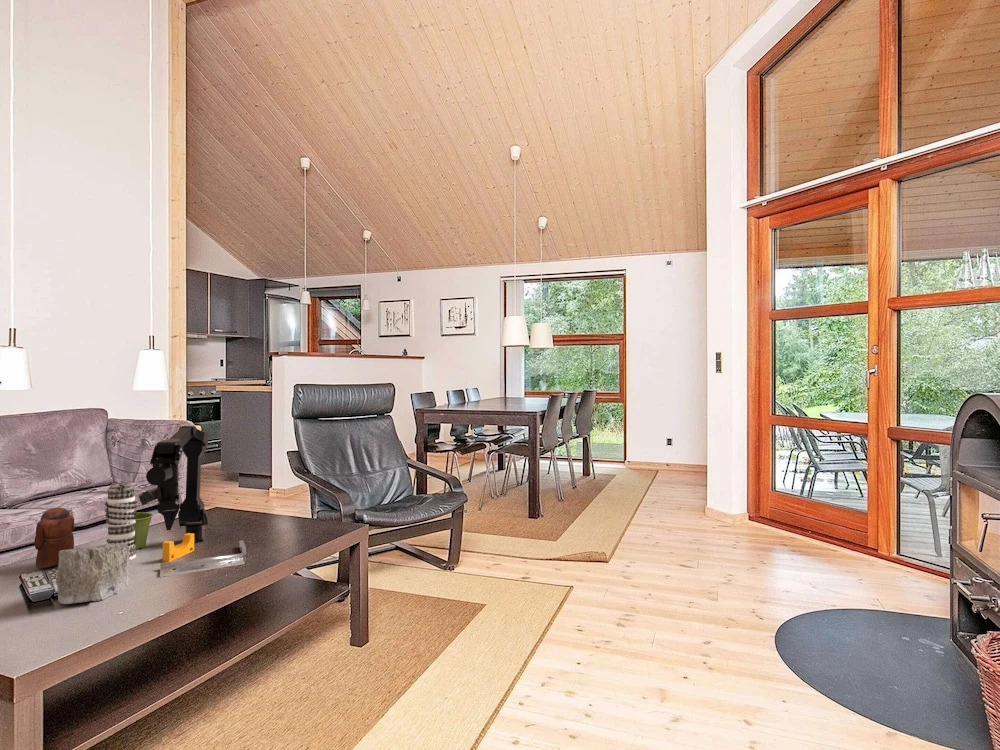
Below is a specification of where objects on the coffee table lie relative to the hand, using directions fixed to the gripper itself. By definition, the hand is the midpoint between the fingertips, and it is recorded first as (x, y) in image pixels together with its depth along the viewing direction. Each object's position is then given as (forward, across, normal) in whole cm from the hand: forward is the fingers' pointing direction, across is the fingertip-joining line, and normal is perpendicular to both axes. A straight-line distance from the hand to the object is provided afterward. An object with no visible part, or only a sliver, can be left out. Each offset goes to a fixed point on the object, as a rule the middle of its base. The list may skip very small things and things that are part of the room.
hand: (168, 526), depth 202 cm
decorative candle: (+12, -12, -14) cm, 22 cm away
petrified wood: (+12, +22, -18) cm, 31 cm away
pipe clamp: (+12, -6, +2) cm, 13 cm away
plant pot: (+12, -24, -11) cm, 29 cm away
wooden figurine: (+12, -16, -33) cm, 39 cm away
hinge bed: (+12, +9, +10) cm, 17 cm away
